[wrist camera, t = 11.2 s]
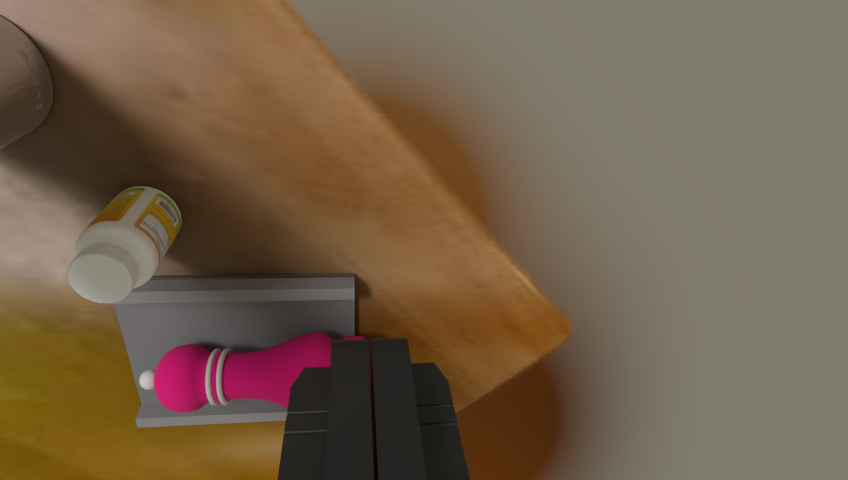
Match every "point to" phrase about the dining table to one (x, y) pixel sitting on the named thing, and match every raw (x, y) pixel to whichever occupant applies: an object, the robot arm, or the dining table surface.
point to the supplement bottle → (124, 244)
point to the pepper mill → (234, 372)
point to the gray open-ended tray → (228, 328)
